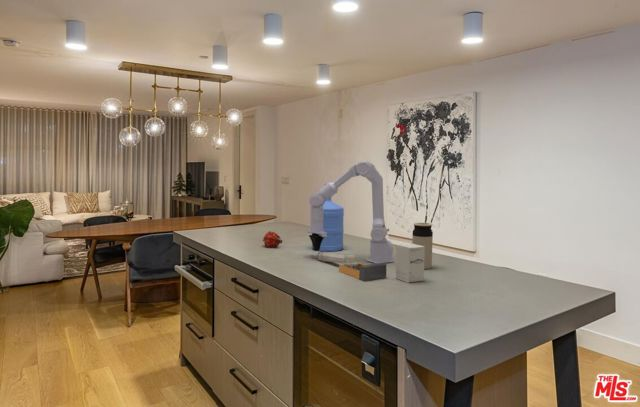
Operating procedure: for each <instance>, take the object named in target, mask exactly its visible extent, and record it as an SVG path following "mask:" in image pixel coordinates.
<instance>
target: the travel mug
mask: <svg viewBox="0 0 640 407" xmlns="http://www.w3.org/2000/svg"><path fill="white" fill-rule="evenodd" d="M413 226H414V228H413V230H412V239H411V241H412V243H411V244H416V245H420V246H424V247H425V255H424V270H429V269H432V267H433V234H434V232H433V230H432V226H433V224H432V223H429V222H414V223H413Z"/></svg>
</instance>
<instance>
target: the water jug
mask: <svg viewBox="0 0 640 407" xmlns="http://www.w3.org/2000/svg"><path fill="white" fill-rule="evenodd" d="M344 214H345V212H344V207H343V206H341V205H339V204H338V203H335V202H334V201H332V197H331V198H329V199H328V200H327V201H325V203H324V204H323V230H324V231H325V232H327V237H324V239H323V240H322V243H321V246H320V250H319V251H318V252H328V253H332V252H339V251H342V250H343V249H344V216H345V215H344ZM311 248H312V249H313V244H312V243H311Z"/></svg>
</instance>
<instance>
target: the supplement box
mask: <svg viewBox="0 0 640 407" xmlns="http://www.w3.org/2000/svg"><path fill="white" fill-rule="evenodd" d="M424 255H425V247H424V246H420V245H416V244H412V243H404V244H396V256H395V257H396V261H395V262H396V263H395V279H397V280H400V281H402V282H405V283H409V284H410V283H414V282H424V280H425V269H424Z"/></svg>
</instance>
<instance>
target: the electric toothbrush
mask: <svg viewBox="0 0 640 407" xmlns="http://www.w3.org/2000/svg"><path fill="white" fill-rule="evenodd" d="M316 258H317V261H318V262H319V261H320V262H323V263H325V262H326V263H327V262H328V263H339V264H342V263H343V264H342V265H344V266H347V267H350V268H353V269H355V270H358V268H357V265H358V263H359V262H357V259H356V256H355V255H353V254H351V255H346V254H345V255H344V254H340V253H333V252H326V251H319V252H318V253H317V256H316ZM358 271H359V270H358Z"/></svg>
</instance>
